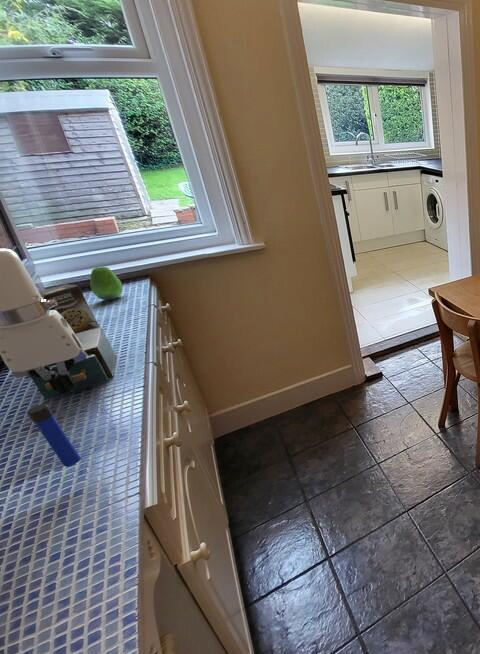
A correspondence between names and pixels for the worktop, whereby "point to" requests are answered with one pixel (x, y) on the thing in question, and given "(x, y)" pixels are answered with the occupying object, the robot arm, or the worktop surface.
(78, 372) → the drawer
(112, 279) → the avocado
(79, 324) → the coffee box
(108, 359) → the cabinet
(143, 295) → the worktop surface
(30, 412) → the marker
